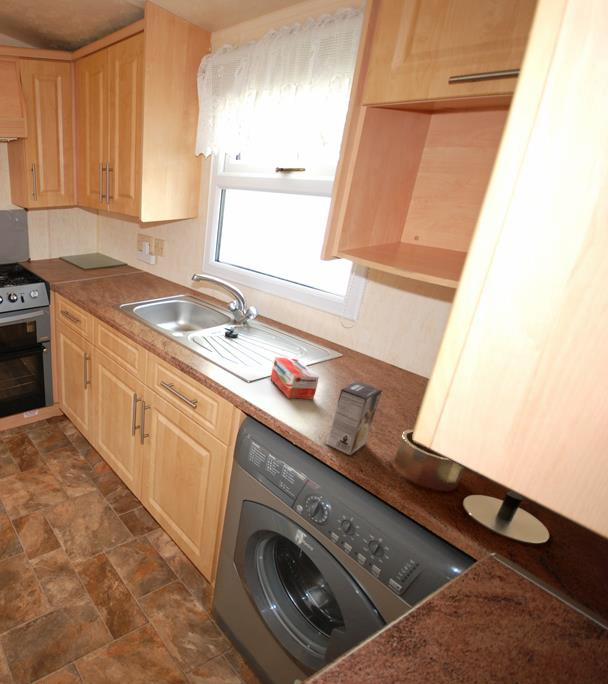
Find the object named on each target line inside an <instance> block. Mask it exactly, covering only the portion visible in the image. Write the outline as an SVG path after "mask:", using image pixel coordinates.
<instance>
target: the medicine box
mask: <svg viewBox="0 0 608 684" xmlns="http://www.w3.org/2000/svg"><path fill="white" fill-rule="evenodd" d="M270 373H271V374H270V380H271V381H272V382H273V383H274V384H275V385H276V386H277V387H278V388H279V390H280V391H281V392H282V393H283V394H284V395H285V396H286V398H288V399H295V400H296V399H297V400H298V399H303V400H314V398H315V395H316V392H317V387H318V383H319V378H320V376H318V374H316V373H315V372H314V371H313V370H312V369H310V368H309V367H308V366H307V365H306V364H304V363H303V362H302V361H301V360H299V359H298V358H296V357H295V358H294V357H279V356H278V357H276V356H275V357H274V360H273V364H272V368H271V372H270Z"/></svg>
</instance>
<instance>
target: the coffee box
mask: <svg viewBox="0 0 608 684" xmlns="http://www.w3.org/2000/svg"><path fill="white" fill-rule="evenodd" d="M382 392H383V389H381V388H378V387H375V386H373V385H370V384H367V383H363V382H361V381H358V380H355V381H354V382H352V383H349V384H348V385H347V386H345V387H343V388H341V390H340V393H339V395H338V396H339V397H338V400H337V403H336V406H335V411H334V414H333V417H332V421H331V425H330V429H329V432H328V436H327V439H326V445H328V446H330V447H332V448H333V449H336V450H338V451H340V452H342V453H344V454H346V455H349V456H351V455H353V454H354V453H355V452H356V451H358V450H359V449H361V448H362V447H363V446H365V445H366V442H367V439H368V436H369V433H370V430H371V426H372V423H373V420H374V416H375V414H376V411H377V408H378V405H379V401H380V398H381V395H382Z"/></svg>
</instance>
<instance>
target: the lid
mask: <svg viewBox="0 0 608 684" xmlns="http://www.w3.org/2000/svg"><path fill="white" fill-rule="evenodd" d="M503 498H504V499H503V500H502V499H499V498H497V497H492V496H488V495H481V494H471V495H468V496H466V497H465V498H464V499H463V501H462V506H463V509H464V511H465V512H466V513H467V514H468V516H469V517H470V518H472V519H473V520H474V521H475V522H476V523H477V524H479V525H481V526H482V527H483V528H486V529H487V530H489V531H490V532H493V533H494V534H496V535H498V536H500V537H503V538H505V539H508V540H512V541H515V542H517V543H521V544H525V545H526V544H527V545H543V544H545V543H547V542H548V540H549V539H550V533H549V530H548V529H547V527H546V526H545V525H544V524H543V523H542V521H540V520H539V519H537V518H536V516H534V515H532V514H531V513H529V512H528V511H526V510H524V509H522V508H520V505H521V504H522V501H523V500H524V498H523V496H522V495H521V494H518V493H517V492H514V491H507V492H506V495H505V496H504V497H503Z"/></svg>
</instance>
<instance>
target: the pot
mask: <svg viewBox="0 0 608 684" xmlns="http://www.w3.org/2000/svg"><path fill="white" fill-rule="evenodd" d="M413 430H414V429H407V430H405V431H402V434H401V437H400V439H399V443H398V445H397V448H396V452H395V454H394V457H393V460H392V466H393V468H394V469H395V470H396V472H397V473H398V474H399V475H401V476H402V477H403V478H404V479H407V480H408V481H411V482H412V483H414V484H416V485H417V486H421V487H424V488H427V489H430V490H436V491H440V492H447V491H448V492H449V491H453V490H454V489H456V488H457V487H458V485H459V483H460V481H461V478H462V476H463V473H464V471H465V468H466V467H465V468H464V467H462V466H460V465H459V464H457V463H455V462H453V461H451V460H449V459H448V458H445V457H443V456H441V455H439V454H437V453H435V452H433V451H431V450H429V449H427V448H426V447H423V446H421V445H419V444H416V443H414V442H413V440H412V434H413Z"/></svg>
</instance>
